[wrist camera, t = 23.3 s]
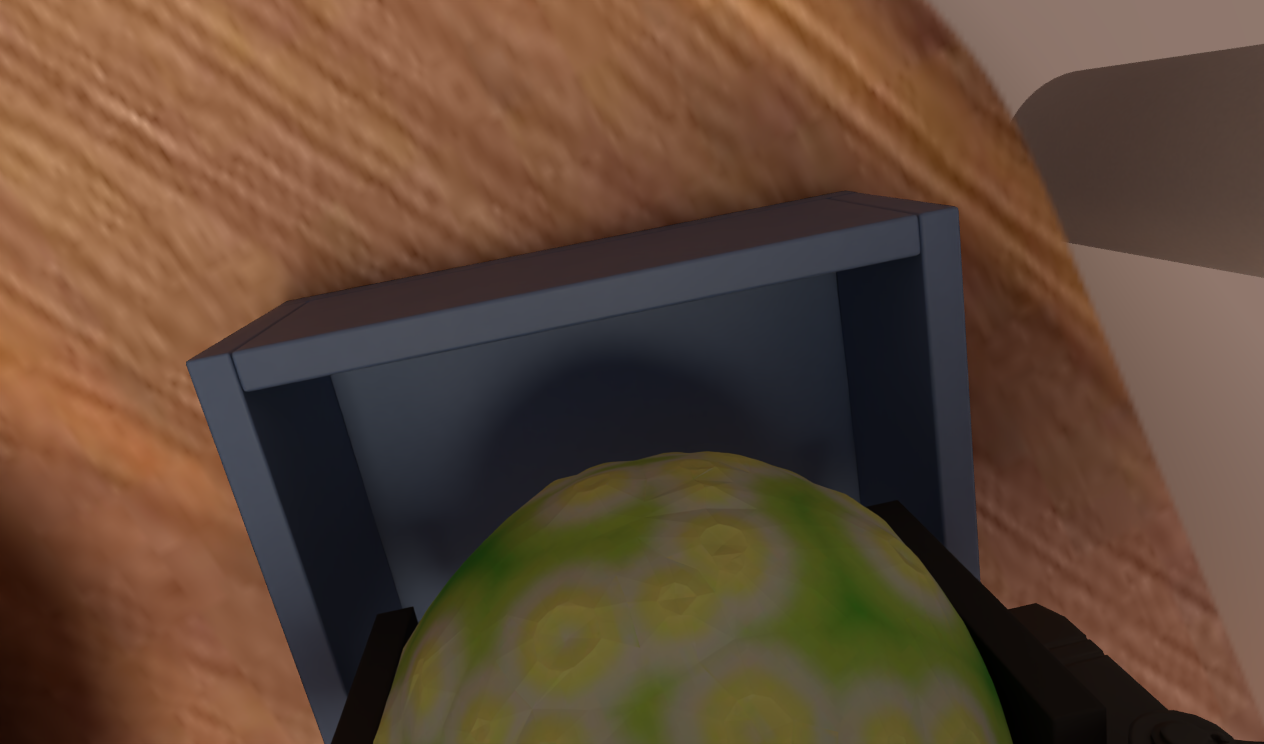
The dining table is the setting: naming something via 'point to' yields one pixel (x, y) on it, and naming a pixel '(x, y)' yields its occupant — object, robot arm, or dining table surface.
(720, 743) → the decorative ball
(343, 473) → the blue bin
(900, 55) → the dining table surface
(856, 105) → the dining table surface
